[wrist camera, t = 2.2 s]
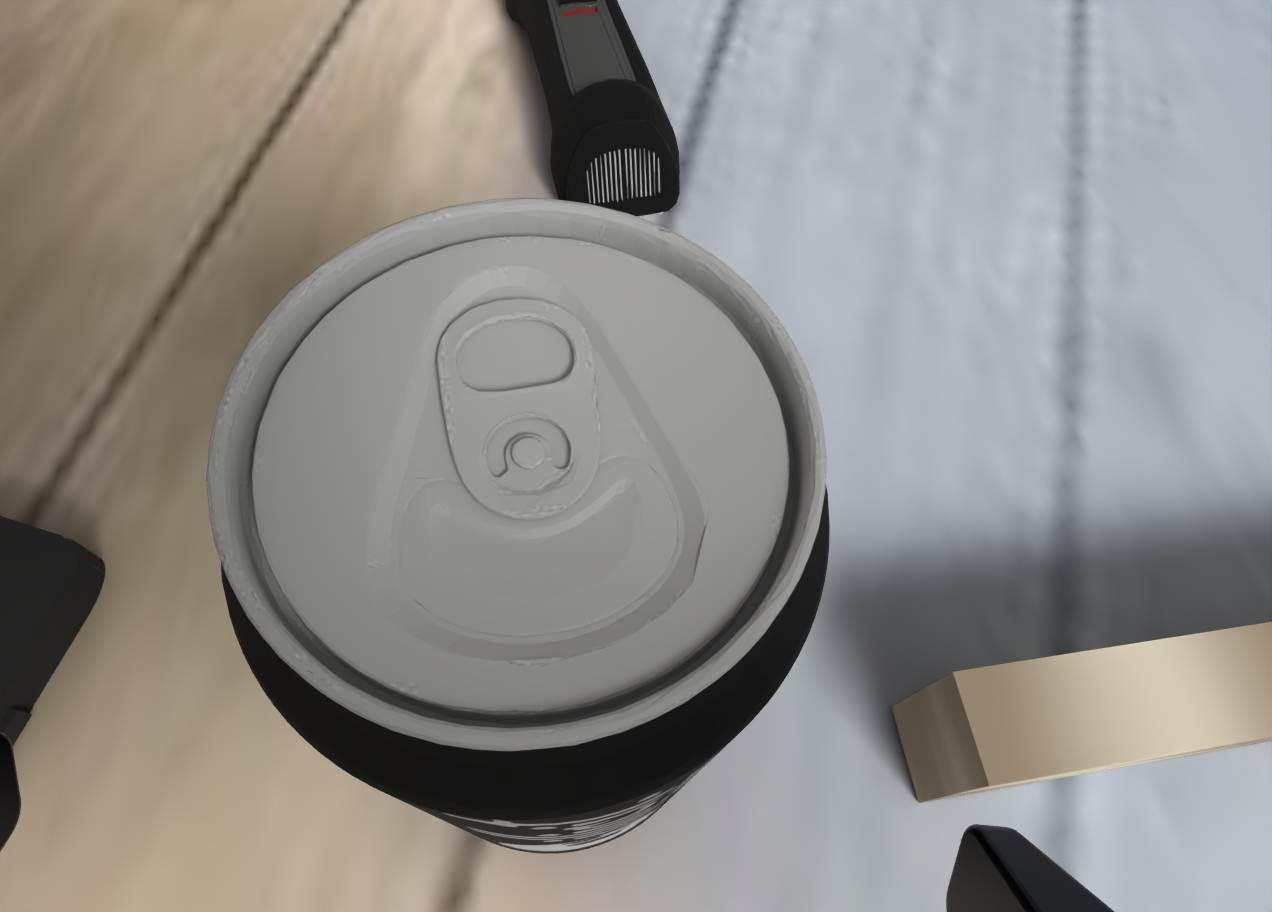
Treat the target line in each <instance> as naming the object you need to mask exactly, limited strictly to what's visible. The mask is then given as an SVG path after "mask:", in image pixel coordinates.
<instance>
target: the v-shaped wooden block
mask: <svg viewBox="0 0 1272 912" xmlns="http://www.w3.org/2000/svg"><path fill="white" fill-rule="evenodd" d="M891 708H892V712H893V715H894V719H895V722H896V726H897V729H898V733H899V736H900V740H901V743H902V747H903V750H904V754H905V757H906V761H907V764H908V768H909V771H910V775H911V778H912V782H913V785H914V789H915V792H916V796H917V799H918V803H921V802H926V801H932V800H938V799H943V798H949V797H955V796H961V795H966V794H972V793H978V792H983V791H989V790H995V789H1000V788H1006V787H1012V786H1017V785H1023V784H1029V783H1034V782H1040V781H1046V780H1051V779H1057V778H1063V777H1069V776H1074V775H1080V774H1086V773H1091V772H1097V771H1103V770H1108V769H1114V768H1120V767H1125V766H1131V765H1137V764H1142V763H1148V762H1154V761H1159V760H1165V759H1171V758H1176V757H1182V756H1188V755H1194V754H1199V753H1205V752H1211V751H1216V750H1222V749H1228V748H1233V747H1239V746H1245V745H1250V744H1256V743H1262V742H1267V741H1272V622H1267V623H1260V624H1254V625H1248V626H1241V627H1235V628H1229V629H1222V630H1216V631H1209V632H1203V633H1197V634H1190V635H1184V636H1177V637H1171V638H1165V639H1158V640H1152V641H1146V642H1139V643H1133V644H1126V645H1120V646H1114V647H1107V648H1101V649H1095V650H1088V651H1082V652H1075V653H1069V654H1063V655H1056V656H1050V657H1043V658H1037V659H1031V660H1024V661H1018V662H1012V663H1005V664H999V665H992V666H986V667H980V668H973V669H967V670H961V671H954V672H951V673H950V674H948V675H946V676H944V677H943V678H941V679H939V680H937V681H936V682H934V683H932V684H930V685H929V686H927V687H925V688H923V689H922V690H920V691H918V692H916V693H915V694H913V695H911V696H909V697H908V698H906V699H904V700H902V701H901V702H899V703H897V704H895V705H894V706H892V707H891Z"/></svg>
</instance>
